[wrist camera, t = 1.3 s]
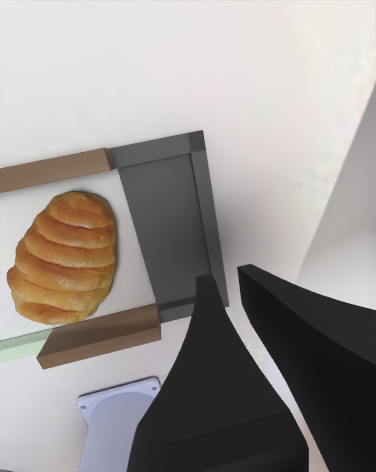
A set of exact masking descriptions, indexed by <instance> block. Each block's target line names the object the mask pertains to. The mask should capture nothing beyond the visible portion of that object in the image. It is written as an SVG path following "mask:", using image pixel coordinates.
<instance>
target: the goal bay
mask: <svg viewBox="0 0 376 472" xmlns="http://www.w3.org/2000/svg"><path fill="white" fill-rule="evenodd" d="M52 330H53V329H49V330H45V331H41V332H37V333H33V334H28V335H24V336H20V337H16V338H12V339H8V340H4V341H0V363H4V362H8V361H12V360H16V359H20V358H24V357H28V356H32V355H36V354H39V352H40V351H41V349H42V347H43V345H44V344H45V342H46V340H47V338H48V337H49V335H50V333H51V332H52Z"/></svg>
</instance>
